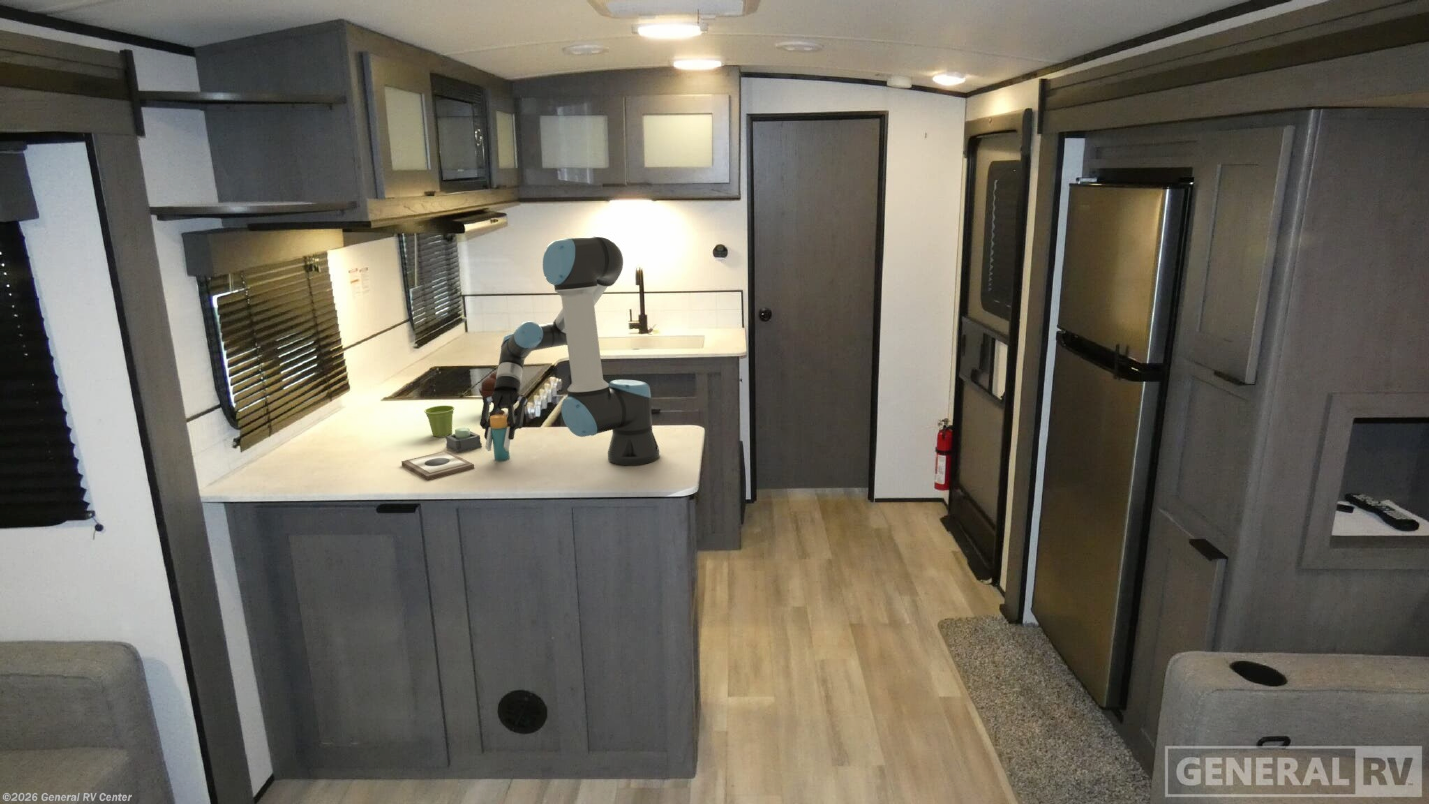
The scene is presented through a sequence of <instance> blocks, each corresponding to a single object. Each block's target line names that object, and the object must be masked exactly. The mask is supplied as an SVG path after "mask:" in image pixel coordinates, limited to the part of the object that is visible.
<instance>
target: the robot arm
mask: <svg viewBox="0 0 1429 804" xmlns="http://www.w3.org/2000/svg"><path fill="white" fill-rule="evenodd" d="M543 253H544V254H543V258H542V271H543V276H544V277H546V278H545V280H546V281H547V282H548V283H549V284H550V285H553V286H554V292H555V293H557V294H558V295H559V296H560V297H561V304H562V305H561V306H562V308H561V310H560V311H559V313H558V315H557V316H556V318H555V319H554V321H552V322H548V323H541V324H538V323H537V322H533V321H529V320H528V321H524V322H522V324H521V325H519V326H518V327H517V328H516V329H515V330H514V332H513V333H510V334H507V335H505V336H504V337H503V339H502V343H501V345H500V354H499V361H498V366H497V370H496V372H497V376H496V382H495V387H494V393H493V394H492V396H491V397H488V398H486V397H481V398H482V403H483V404H482V410H481V414H480V415H481V416H480V420H479V421H480V422H479V425H480V427H481V429H483V430H484V435H483V436H484V439H485V440H486V441H485V446H484V447H485V449H486V450H487V451H488V452H491V450H492V446H493V438H492V428H491V425H490V416H493V415H498V414H499V412H500V411H501V410H503V409H507V414H508V422H509V424H508V425H509V426H507V429H506V435H505V441H504V448H505V450H506V451H509V452H510V444H511V441H512V440H514V438H515V434H516V433H515V432H516V430H518V429H519V430H521V429H522V428H523V422H524V416H525V410H526V406H527V404H528V402H529V401H528V399H527V397H526V396H520V390H521V383H522V379H523V377H522V376H523V371H524V365H525V360H526V358H527V357H529V355H530V354H531V353H532V352H534V351H538V350H544V349H551V348H556V347H562V346H567V351H568V358H569V359H568V361H569V368H570V369H569V370H570V378H571V384H570V385H569V386H568V388H567V397H565V398H564V399H563V400H562V402H561V406H560V410H561V416H562V419H563V422H564V424H565V426H566V428H567V429H569V431H570V432H571V433H572V434H573V435H575V436H577V437H581V438H583V437H584V438H585V437H589V436H591V437H593V436H596V435H598V434H602V433H605V432H609V431H611V432H612V435H611V439H610V442H609V446H608V450H607V459H608V461H609V462H610V463H612V464H614V465H618V466H619V465H621V466H640V465H646V464H649V463H650V464H651V463H653V462H655V461H657V460H658V459H659V458H660V448H659V445H658V443H657V440H656V437H655V435H654V432H653V422H652V421H653V416H652V395H651V387H650V385H649V384H648V383H646V382H644V381H640V380H635V379H634V380H633V379H615V380H611V381H610V382H609V383H608V382H607V381H606V380H604V377H603V376H604V375H603V368H602V359H601V352H600V343H599V341H600V340H599V333H598V327H597V319H596V318H597V317H596V311H595V310H596V309H595V305H597V303H598V301H599V300H600V299H601V298H602V296H603V294H604V293H605V291H606V290H607V289H608V288H609V287H612V286H613V285H614V284H615V283H616V281H618V279H619V278H620V276H621V273H622V271H623V267H624V258H623V257H624V256H623V253H622V251H621V249H620V247H619V245H617V243H616V242H615V241H613V240H611V239H610V238H608V237H605V236H601V235H595V236H588V237H584V236H583V237H572V238H571V237H570V238H568V237H567V238H563V239H557V240H553V241H552V242H550V243H549V244H548V245H547V247H546V249H545V251H544V252H543ZM492 401H494V404H493V407H492V410H491V411H492V412H491V411H490V408H491V406H490V405H491V404H492V403H491V402H492ZM517 403H518V409H517V414H516V419H515V408H514V407H515V405H516V404H517ZM489 412H491V414H490V415H489Z"/></svg>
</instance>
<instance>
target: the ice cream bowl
mask: <svg viewBox="0 0 1429 804" xmlns="http://www.w3.org/2000/svg"><path fill="white" fill-rule="evenodd" d="M496 376H497V371H495V372H492V373H491V374H490V375H489V377H486V379H484V380H483V381H482V382H481V387H479V388H478V391H479V393H480V395H481V398H483V397H486V398H488V397H491V396H492V394H493V393H494V387H495V382H496ZM491 404H492V405H494V401H492V402H491ZM491 412H492V410H491V411H489V414H488V416H490V414H491ZM499 414H503V415H505V414H506V412H505V410H503V409H501V411H500V412H499Z"/></svg>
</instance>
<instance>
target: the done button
mask: <svg viewBox="0 0 1429 804" xmlns="http://www.w3.org/2000/svg"><path fill="white" fill-rule="evenodd" d="M470 429H471V428H469V427H460V428H456V429H455V430H454V434H455V436H456V439H458V440H460V439H464V438H468V437H470Z"/></svg>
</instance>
